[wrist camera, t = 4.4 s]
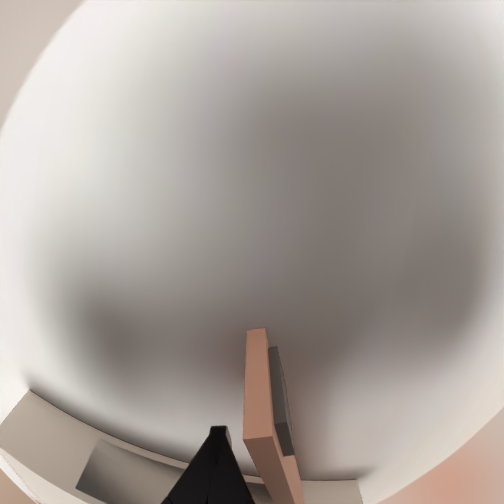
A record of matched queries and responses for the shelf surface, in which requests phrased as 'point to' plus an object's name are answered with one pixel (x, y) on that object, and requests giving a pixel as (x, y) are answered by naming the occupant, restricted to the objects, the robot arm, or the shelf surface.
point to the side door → (269, 421)
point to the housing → (110, 463)
